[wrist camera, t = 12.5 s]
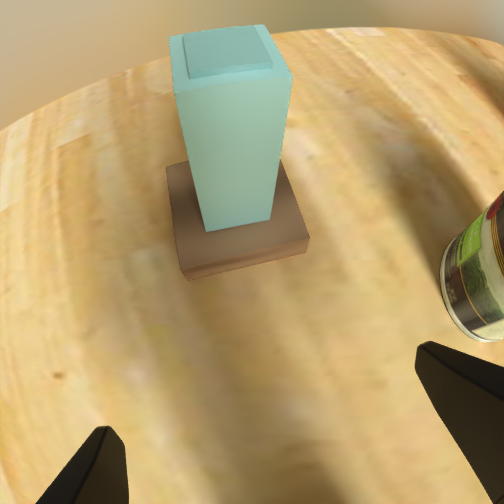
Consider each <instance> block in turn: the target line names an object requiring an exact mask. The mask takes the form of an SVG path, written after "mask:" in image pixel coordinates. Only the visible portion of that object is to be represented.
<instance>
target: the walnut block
mask: <svg viewBox="0 0 504 504" xmlns="http://www.w3.org/2000/svg"><path fill="white" fill-rule="evenodd" d="M166 172H167V180H168V188H169V196H170V204H171V211H172V218H173V225H174V232H175V239H176V245H177V252H178V258H179V264H180V269H181V271H182V272H183V273H184V275H185V276H186V278H187V279H188V280H193V279H197V278H201V277H205V276H210V275H214V274H218V273H222V272H226V271H231V270H235V269H239V268H243V267H247V266H251V265H256V264H260V263H264V262H268V261H272V260H276V259H280V258H284V257H288V256H293V255H297V254H301V253H305V252H306V249H307V245H308V242H309V238H310V237H309V234H308V232H307V229H306V226H305V223H304V220H303V218H302V215H301V212H300V209H299V207H298V204H297V201H296V199H295V196H294V193H293V191H292V188H291V185H290V183H289V180H288V177H287V175H286V172H285V170H284V167H283V164H282V162H281V159H280V162H279V168H278V174H277V180H276V186H275V192H274V198H273V204H272V210H271V216H270V220H266V221H261V222H255V223H250V224H245V225H240V226H235V227H230V228H225V229H220V230H215V231H210V232H206V230H205V226H204V222H203V218H202V214H201V210H200V206H199V201H198V197H197V193H196V189H195V185H194V180H193V176H192V172H191V168H190V163H189V161H187V162H183V163H179V164H175V165H171V166H167V167H166Z"/></svg>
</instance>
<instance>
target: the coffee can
mask: <svg viewBox="0 0 504 504" xmlns="http://www.w3.org/2000/svg"><path fill="white" fill-rule="evenodd" d="M440 284H441V290H442V295H443V299H444V302H445V304H446V307H447V309H448V312H449V314H450V315H451V317H452V319H453V320H454V322H455V323H456V324H457V326H458V327H459V328H460V329H461V330H462V331H463V332H464V333H465V334H466V335H468V336H469V337H471V338H473V339H475V340H477V341H480V342H496V341H499V340H501V339H503V338H504V191H503V192H502V193H501V194H500V195H499V196H498V198H497V199H496V200H495V201H494V202H493V203H492V204H491V205H490V206H489V207H488V208H487V209H486V210H485V211H484V212H483V213H482V214H481V215H480V216H479V217H478V218H477V219H476V220H475V221H474V222H472V224H471V225H469V226H468V227H467V228H466V229H465V230H464V231H463V232H462V233H461V234H460V235H458V236H457V237H455V238H454V239H453V240H452V241H451V242H450V244H449V245H448V247H447V248H446V250H445V252H444V254H443V258H442V262H441V268H440Z"/></svg>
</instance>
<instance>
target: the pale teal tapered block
mask: <svg viewBox="0 0 504 504" xmlns="http://www.w3.org/2000/svg"><path fill="white" fill-rule="evenodd" d="M169 44H170V56H171V67H172V77H173V87H174V95H175V100H176V104H177V109H178V114H179V118H180V123H181V128H182V132H183V137H184V141H185V146H186V150H187V155H188V159H189V163H190V168H191V172H192V176H193V180H194V185H195V189H196V193H197V197H198V201H199V206H200V210H201V214H202V218H203V222H204V226H205V230H206V232H210V231H215V230H220V229H225V228H230V227H235V226H240V225H245V224H250V223H255V222H261V221H266V220H270V216H271V210H272V204H273V198H274V192H275V186H276V180H277V174H278V168H279V162H280V156H281V149H282V143H283V137H284V131H285V125H286V119H287V112H288V106H289V100H290V93H291V87H292V81H293V76H292V74H291V72H290V70H289V68H288V66H287V64H286V63H285V61H284V59H283V57H282V55H281V53H280V52H279V50H278V48H277V46H276V44H275V43H274V41H273V39H272V37H271V36H270V34H269V32H268V30H267V29H266V27H265V25H251V26H238V27H228V28H220V29H212V30H205V31H198V32H192V33H186V34H181V35H175V36H170V37H169Z"/></svg>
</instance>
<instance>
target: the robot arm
mask: <svg viewBox="0 0 504 504" xmlns="http://www.w3.org/2000/svg"><path fill="white" fill-rule="evenodd" d="M415 371H416V373H417V375H418V377H419V379H420V381H421V383H422V385H423V387H424V389H425V391H426V393H427V395H428V396H429V398H430V400H431V402H432V404H433V406H434V408H435V410H436V412H437V413H438V415H439V417H440V418H441V420H442V421H443V423H444V424H445V426H446V427H447V429H448V430H449V432H450V433H451V435H452V437H453V438H454V440H455V441H456V443H457V444H458V446H459V448H460V449H461V451H462V452H463V454H464V456H465V457H466V459H467V460H468V462H469V464H470V465H471V467H472V469H473V470H474V472H475V474H476V475H477V477H478V479H479V480H480V482H481V484H482V485H483V487H484V489H485V490H486V492H487V494H488V496H489V497H490V499H491V501H492V503H493V504H504V367H502V366H499V365H496V364H493V363H490V362H488V361H485V360H482V359H479V358H477V357H474V356H471V355H468V354H466V353H463V352H460V351H457V350H455V349H452V348H449V347H446V346H444V345H441V344H438V343H436V342H433V341H427V342H425V343H423V344H420V345H419V346H418V348H417V352H416V360H415ZM36 504H129V488H128V477H127V466H126V454H125V446H124V443H123V441H122V440H121V439H120V438H119V436H118V435H117V434H116V432H115V431H114V430H113V429H112V427H110V426H99V427H97V428H95V429H94V431H93V432H92V433H91V434H90V436H89V437H88V438H87V439H86V441H85V442H84V443H83V444H82V446H81V447H80V448H79V449H78V451H77V452H76V453H75V454H74V456H73V457H72V458H71V459H70V461H69V462H68V463H67V464H66V466H65V467H64V468H63V469H62V471H61V472H60V473H59V474H58V476H57V477H56V478H55V480H54V481H53V482H52V483H51V485H50V486H49V487H48V488H47V490H46V491H45V492H44V493H43V495H42V496H41V497H40V498H39V500H38V501H37V502H36Z"/></svg>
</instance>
